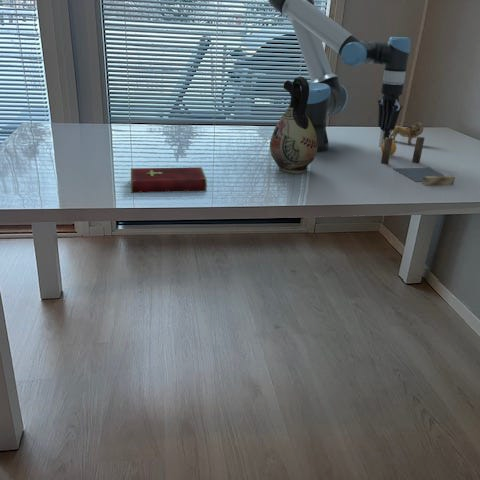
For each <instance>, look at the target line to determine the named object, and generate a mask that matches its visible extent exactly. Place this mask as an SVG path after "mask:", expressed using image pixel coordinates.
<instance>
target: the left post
mask: <svg viewBox="0 0 480 480" xmlns="http://www.w3.org/2000/svg"><path fill="white" fill-rule="evenodd" d="M392 142H393V137H391V138H390V136H389V137H386V138H385V142H384V148H383V153H382V152H381V153H382V154H381V159H380V160H381V161H380V164H382V165H389V163H390V156H391V155H390V152H391V146H392Z"/></svg>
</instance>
